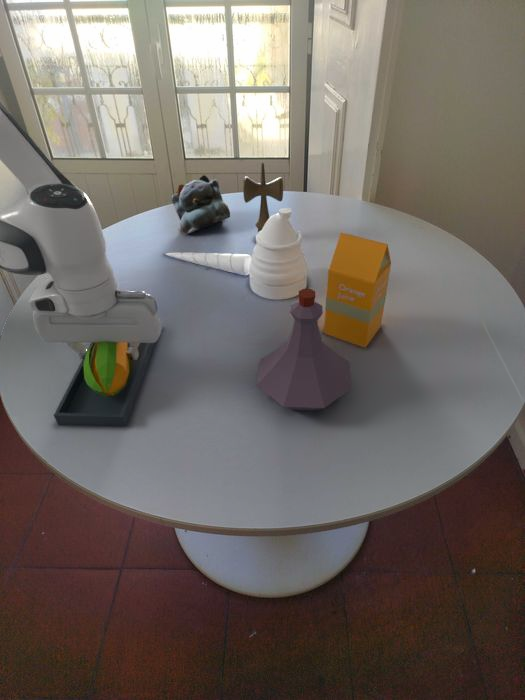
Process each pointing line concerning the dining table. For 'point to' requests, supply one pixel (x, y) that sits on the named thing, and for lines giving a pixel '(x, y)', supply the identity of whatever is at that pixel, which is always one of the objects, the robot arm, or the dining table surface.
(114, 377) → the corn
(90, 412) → the tray
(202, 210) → the lucky cat figurine
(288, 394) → the flask
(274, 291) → the honey pot
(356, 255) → the orange juice
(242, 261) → the unicorn horn
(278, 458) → the dining table surface
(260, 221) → the kendama
